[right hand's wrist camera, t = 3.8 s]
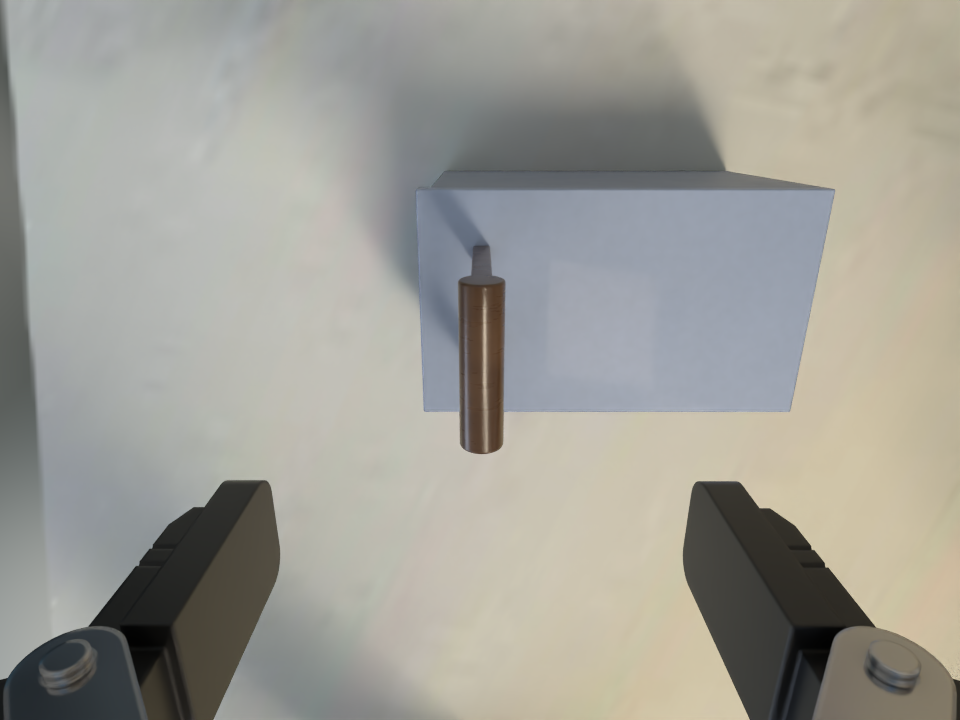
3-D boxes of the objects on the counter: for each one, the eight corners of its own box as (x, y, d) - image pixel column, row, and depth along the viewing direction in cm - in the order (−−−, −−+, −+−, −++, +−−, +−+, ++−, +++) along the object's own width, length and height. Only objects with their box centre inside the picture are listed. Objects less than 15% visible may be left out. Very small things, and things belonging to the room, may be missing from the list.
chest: (447, 333, 37) (436, 403, 28) (444, 170, 34) (430, 187, 24) (704, 333, 37) (780, 403, 28) (726, 171, 34) (823, 187, 24)
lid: (425, 404, 28) (404, 508, 20) (417, 187, 24) (388, 213, 17) (781, 404, 28) (896, 508, 20) (824, 187, 24) (982, 213, 17)
